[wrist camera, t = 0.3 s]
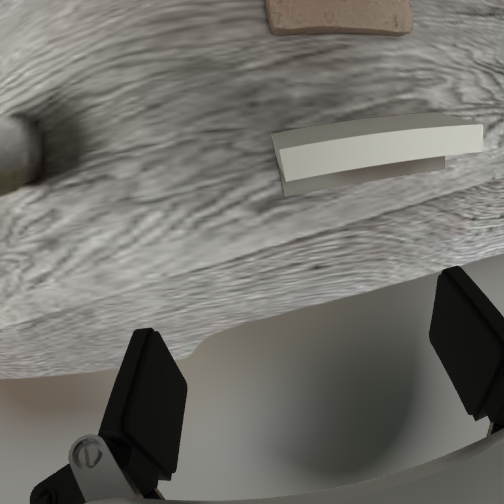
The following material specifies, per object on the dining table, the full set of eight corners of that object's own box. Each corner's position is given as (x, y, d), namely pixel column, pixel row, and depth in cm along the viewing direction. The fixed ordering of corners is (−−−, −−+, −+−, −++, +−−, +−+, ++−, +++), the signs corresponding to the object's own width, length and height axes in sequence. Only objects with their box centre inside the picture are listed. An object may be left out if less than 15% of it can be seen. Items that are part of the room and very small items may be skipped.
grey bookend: (271, 134, 36) (279, 149, 27) (435, 112, 34) (482, 124, 25) (283, 193, 39) (294, 226, 30) (439, 166, 37) (482, 190, 28)
